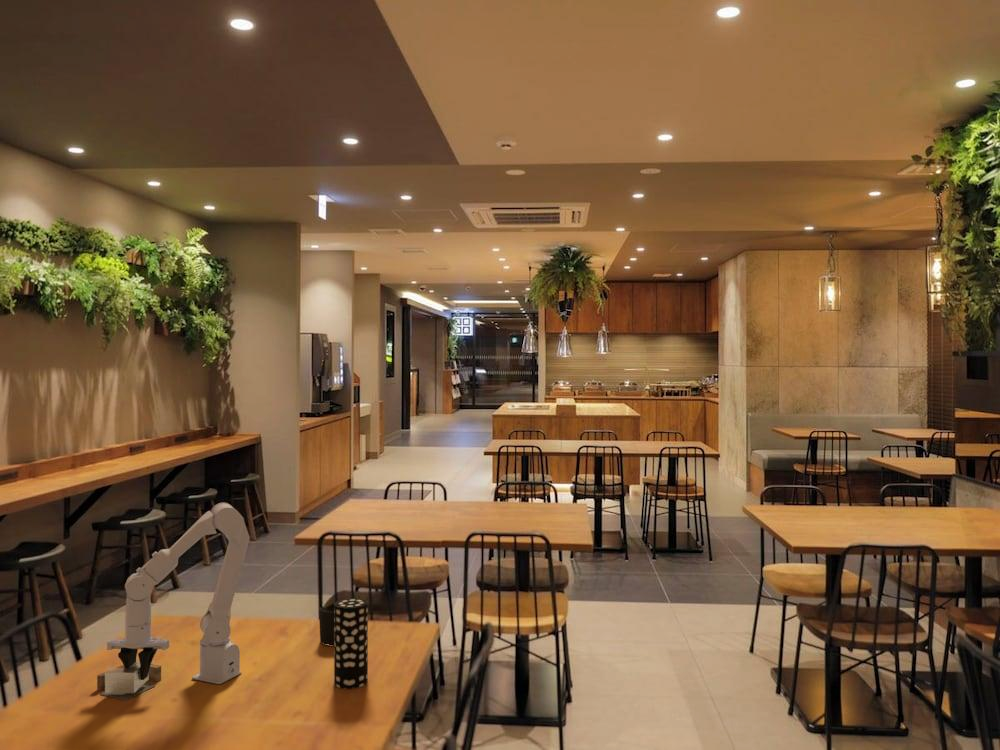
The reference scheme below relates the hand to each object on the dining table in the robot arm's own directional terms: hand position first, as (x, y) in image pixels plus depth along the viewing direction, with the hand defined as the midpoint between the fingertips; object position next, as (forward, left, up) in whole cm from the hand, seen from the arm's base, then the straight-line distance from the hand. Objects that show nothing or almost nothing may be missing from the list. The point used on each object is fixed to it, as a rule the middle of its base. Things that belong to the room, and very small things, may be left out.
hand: (138, 678), depth 176 cm
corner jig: (+5, -2, -3) cm, 6 cm away
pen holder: (-25, -47, -3) cm, 53 cm away
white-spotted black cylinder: (-46, -24, -3) cm, 52 cm away
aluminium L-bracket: (+2, +2, -2) cm, 3 cm away
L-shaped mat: (+2, +1, -3) cm, 4 cm away
